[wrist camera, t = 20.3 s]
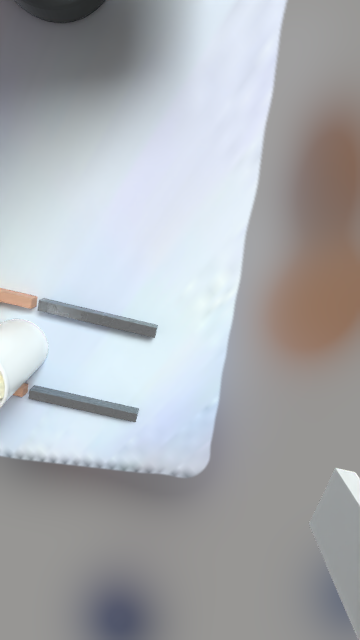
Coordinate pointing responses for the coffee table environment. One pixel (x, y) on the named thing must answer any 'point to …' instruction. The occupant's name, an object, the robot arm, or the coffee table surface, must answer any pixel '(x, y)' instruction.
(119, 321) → the guide rails
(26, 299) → the orange u-shaped bracket
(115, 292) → the coffee table surface
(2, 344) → the candle holder
